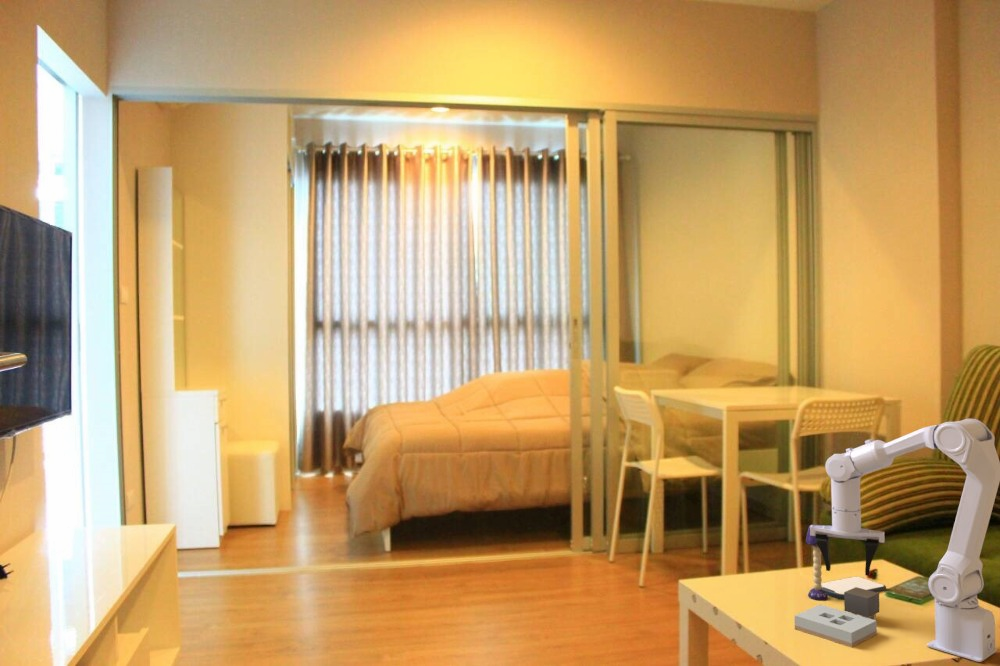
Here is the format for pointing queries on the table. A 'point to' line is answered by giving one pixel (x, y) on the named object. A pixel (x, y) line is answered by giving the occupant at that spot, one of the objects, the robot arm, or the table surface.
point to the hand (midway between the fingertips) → (847, 571)
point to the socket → (836, 625)
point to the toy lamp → (816, 570)
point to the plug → (862, 602)
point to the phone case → (850, 586)
